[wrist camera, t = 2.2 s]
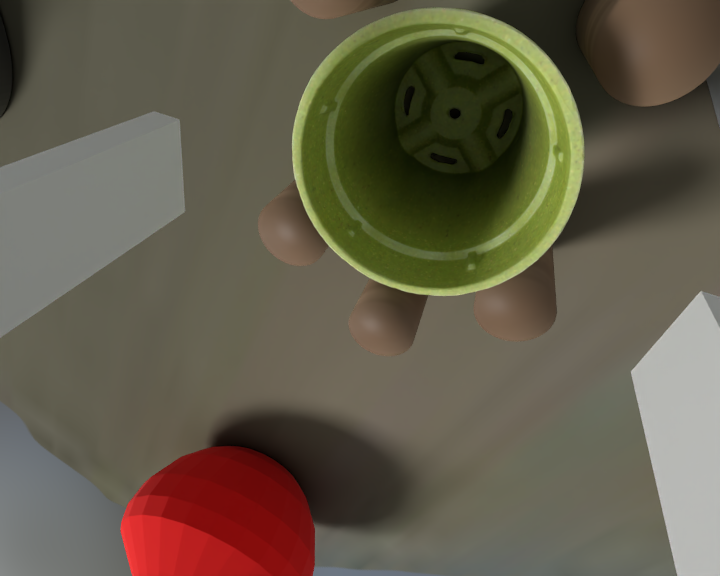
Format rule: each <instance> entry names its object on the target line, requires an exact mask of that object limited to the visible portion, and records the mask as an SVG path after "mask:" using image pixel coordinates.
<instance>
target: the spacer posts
mask: <svg viewBox="0 0 720 576" xmlns="http://www.w3.org/2000/svg"><path fill="white" fill-rule="evenodd" d="M395 1H397V0H291V2H292V3H293V4H294V5H295V6H296V7H297V8H298V9H300V10H301V11H303V12H304V13H306V14H308V15H310V16H312V17H315V18H320V19H332V18H337V17H340V16H344V15H348V14H352V13H356V12H359V11H363V10H367V9H371V8H375V7H378V6H382V5H386V4H390V3H393V2H395ZM576 37H577V42H578V45H579V47H580V49H581V51H582V53H583V54H584V56H585V58H586V60H587V61H588V63H589V65H590V67H591V68H592V70H593V72H594V74H595V75H596V77H597V79H598V81H599V82H600V84H601V85H602V87H603V88H604V90H605V91H606V92H607V93H608V94H609V95H610V96H612V97H613V98H614V99H616V100H618V101H620V102H622V103H625V104H628V105H633V106H642V107H644V106H655V105H661V104H664V103H668V102H670V101H673V100H676V99H678V98H680V97H682V96H684V95H686V94H687V93H689V92H690V91H692V90H694V89H695V88H696V87H698V86H699V85H700V84H701V83H703V82H704V81H705V80H706V79H707V78H708V77H709V76H710V75H711V74H712V72H713V71H714V70H715V69H716V68H717V66H718V65H719V64H720V0H585V2H584V4H583V6H582V8H581V10H580V12H579V15H578V19H577V24H576ZM258 230H259V234H260V237H261V240H262V241H263V243H264V245H265V246H266V248H267V249H268V250H269V251H270V252H271V253H272V254H273V255H274V256H275V257H277V258H278V259H280V260H281V261H283V262H285V263H288V264H291V265H296V266H305V265H310V264H312V263H314V262H316V261H317V260H318V259H319V258H320V257H321V256H322V255H323V253H324V252H325V250H326V249H327V248H328V246H329V245H328V244H327V243H326V242H325V240H324V239H323V238H322V236H321V235H320V234H319V232H318V231H317V229H316V228H315V227H314V225H313V223H312V221H311V220H310V218H309V216H308V214H307V212H306V210H305V207H304V205H303V202H302V199H301V197H300V193H299V190H298V188H297V184H296V180H294V181H293V182H292V183H291V184H290V185H289V186H288V187H286V188H285V189H284V190H283V191H282V192H281V193H280V194H279V195H278V196H276V197H275V198H274V199H273V200H272V201H271V202H270V203H269V204H268V205H266V206H265V207H264V208H263V210H262V211H261V213H260V215H259V219H258ZM427 297H428V295H423V294H415V293H410V292H405V291H402V290H400V289H397V288H393V287H389V286H387V285H384V284H382V283H379V282H377V281H375V280H373V279H371V278H370V279H369V281H368V283H367V285H366V287H365V288H364V290H363V292H362V294H361V296H360V298H359V300H358V302H357V304H356V306H355V308H354V310H353V311H352V313H351V315H350V318H349V329H350V332H351V335H352V336H353V338H354V339H355V341H356V342H357V343H358V344H359V345H360V346H362V347H363V348H364V349H366V350H368V351H370V352H372V353H374V354H377V355H382V356H395V355H399V354H402V353H404V352H406V351H407V350H408V349H409V348H410V347H411V346H412V344H413V341H414V338H415V335H416V332H417V329H418V326H419V322H420V319H421V316H422V313H423V310H424V307H425V304H426V300H427ZM556 314H557V307H556V292H555V278H554V264H553V249H552V245H551V247H550V248H549V249H548V250H547V251H546V252H545V253H544V254H543V255H542V256H541V257H540V258H539V259H538V260H537V261H536V262H534V263H533V264H532V265H531V266H529V267H528V268H527V269H526V270H524V271H523V272H521V273H520V274H518V275H516V276H514V277H512V278H511V279H508V280H507V281H505V282H503V283H501V284H498V285H496V286H493V287H491V288H488V289H484V290H480V291H476V296H475V302H474V315H475V318H476V320H477V322H478V323H479V325H480V326H481V327H482V328H483V329H484V330H485V331H486V332H488V333H489V334H491V335H493V336H495V337H497V338H500V339H503V340H508V341H526V340H531V339H534V338H537V337H539V336H541V335H542V334H544V333H545V332H547V331H548V330H549V329H550V328H551V326H552V325H553V323H554V321H555V319H556Z"/></svg>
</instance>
